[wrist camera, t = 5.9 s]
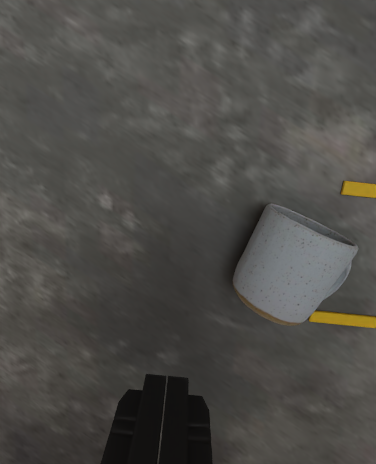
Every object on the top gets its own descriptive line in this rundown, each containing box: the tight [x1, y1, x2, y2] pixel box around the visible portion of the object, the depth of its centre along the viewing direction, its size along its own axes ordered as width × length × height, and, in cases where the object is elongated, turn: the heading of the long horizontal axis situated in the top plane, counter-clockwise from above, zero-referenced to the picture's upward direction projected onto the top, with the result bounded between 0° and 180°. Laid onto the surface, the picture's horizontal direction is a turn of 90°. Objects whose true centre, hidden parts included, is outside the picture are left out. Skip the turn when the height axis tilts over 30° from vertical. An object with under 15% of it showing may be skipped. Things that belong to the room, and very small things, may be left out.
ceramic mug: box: [233, 204, 358, 326], centre depth 24 cm, size 11×8×8 cm
